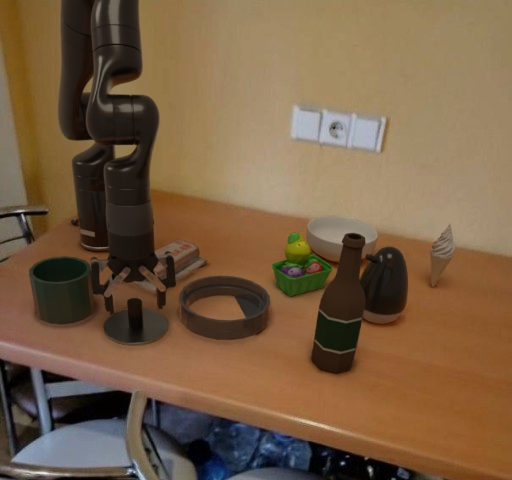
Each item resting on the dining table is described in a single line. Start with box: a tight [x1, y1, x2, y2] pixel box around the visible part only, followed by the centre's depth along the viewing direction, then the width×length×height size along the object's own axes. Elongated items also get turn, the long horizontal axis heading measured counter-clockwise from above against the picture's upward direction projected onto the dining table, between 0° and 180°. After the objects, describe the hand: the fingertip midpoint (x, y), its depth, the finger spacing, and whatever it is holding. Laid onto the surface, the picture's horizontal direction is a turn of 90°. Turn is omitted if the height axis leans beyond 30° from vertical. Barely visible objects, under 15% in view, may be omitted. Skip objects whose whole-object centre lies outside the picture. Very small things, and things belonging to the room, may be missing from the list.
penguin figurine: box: [360, 245, 409, 325], centre depth 109 cm, size 10×10×15 cm
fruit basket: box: [271, 231, 334, 297], centre depth 118 cm, size 11×9×11 cm
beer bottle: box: [311, 233, 366, 375], centre depth 93 cm, size 8×8×24 cm
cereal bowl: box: [305, 215, 379, 264], centre depth 133 cm, size 17×17×7 cm
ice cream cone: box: [429, 223, 456, 288], centre depth 121 cm, size 5×5×15 cm
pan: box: [178, 275, 271, 341], centre depth 108 cm, size 17×17×4 cm
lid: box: [102, 297, 169, 346], centre depth 102 cm, size 12×12×6 cm
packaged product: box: [129, 238, 208, 294], centre depth 121 cm, size 18×5×10 cm
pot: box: [28, 255, 96, 326], centre depth 105 cm, size 11×11×9 cm
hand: (135, 309), depth 101 cm, fingers open, 8 cm apart
